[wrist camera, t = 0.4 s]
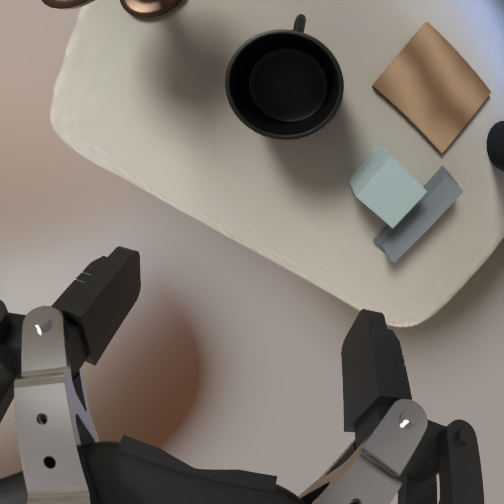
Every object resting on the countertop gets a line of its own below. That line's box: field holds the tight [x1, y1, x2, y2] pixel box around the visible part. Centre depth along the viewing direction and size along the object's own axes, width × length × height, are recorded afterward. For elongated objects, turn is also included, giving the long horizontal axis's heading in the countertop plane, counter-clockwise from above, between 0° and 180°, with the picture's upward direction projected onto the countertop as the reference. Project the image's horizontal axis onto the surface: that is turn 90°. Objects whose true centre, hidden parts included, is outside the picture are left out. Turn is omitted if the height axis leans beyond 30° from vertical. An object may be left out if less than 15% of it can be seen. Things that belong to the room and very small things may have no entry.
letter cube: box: [348, 145, 427, 228], centre depth 30 cm, size 6×6×6 cm
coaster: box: [372, 22, 491, 153], centre depth 25 cm, size 11×11×1 cm
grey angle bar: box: [374, 166, 463, 263], centre depth 32 cm, size 13×3×4 cm, turn 146°
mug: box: [225, 14, 344, 140], centre depth 24 cm, size 9×12×9 cm
